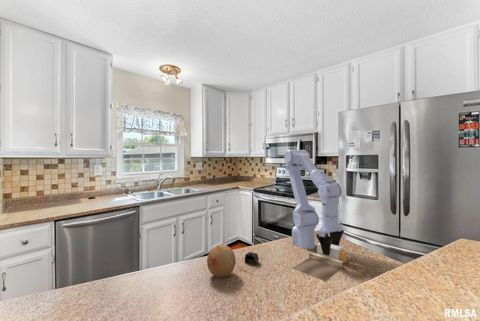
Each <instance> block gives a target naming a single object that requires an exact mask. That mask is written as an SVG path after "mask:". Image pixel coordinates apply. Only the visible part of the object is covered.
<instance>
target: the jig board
mask: <svg viewBox="0 0 480 321" xmlns="http://www.w3.org/2000/svg"><path fill="white" fill-rule="evenodd" d="M352 260H353V258H352V255H351V254H348V253H347V260H346V261H345V262H344V263H343V262H342V261H339V260H335V259H332V258H329V257H326V256H322V255H319V254H317V252H316V253H315V252H312V251H310V252H308V258H307V259H305V260H303V261H301V262H300V263H298V264H296V265H295V266H292V269H294V270H295V271H298V272H301V273H304V274H306V275H308V276H311V277H313V278H316V279H319V280H321V281H324V282H327V281H329V280H330V278H332V277H333V276H334V275H335V274H337V273H338V272H339V271H340V270H341V269H343V268H344V267H345V266H346V265H348V263H350V262H351V261H352Z"/></svg>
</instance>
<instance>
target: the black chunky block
mask: <svg viewBox="0 0 480 321" xmlns="http://www.w3.org/2000/svg"><path fill="white" fill-rule="evenodd" d="M248 261H251V262H253V265H254V266H256V265H257V264H258V263H259V261H260V260H259V255H258V253H255V252H251V251H249V252H247V253H246V254H245V255H244V263H245V264H247V262H248Z"/></svg>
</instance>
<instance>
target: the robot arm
mask: <svg viewBox="0 0 480 321" xmlns="http://www.w3.org/2000/svg"><path fill="white" fill-rule="evenodd" d="M283 160H284V164H285V168H286V170H287V172H288V176H289V180H290V184H291V185H290V186H291V189H292V192H293V196H294V200H295V204H296V206H295V208H294V209H293V210H292V221H293V225H294V226H293V227H292V230H291V245H292V246H296V247H298V248H300V249H305V250H313V249H315V248H316V238H317V240H318V242H319V243H320V245H321V248H322V252H323V254H324V255H328V256H329V254H330V247H331V244H333V245H337V246H340V243H341V239H342V236H344V234H345V233H344V231H345V230H343V228H342V223H341V222H340V221H339V198H340V197H341V196H342V194H343V193H342V187H341V185H340V184H339V182H334V181H333V180H332V179H331V178H329V177H328V175H327V174H326V173H325V171H324V170H323V169H318V168H317V166H316V165H315V164H314V162H313V161H312V160H311V158H310V153H309V151H307V149H287V150H286V151H285V153H284V156H283ZM303 169H305V170H306V171H307V172H308V173H309V179H310V180H311V181H312V183H313V184H314V186H316V188H317V189H318V190H317V193H318V196H319V199H320V200H319V201H320V203H321V227H320V229H318V233H316V230H315V229H316V228H317V226H318V225H319V222H320V217H319V215H318V213H317V212H316V208H315V207H314V206H312V205H311V204H309V200H308V196H307V193H306V189H305V185H304V182H303V178H302V174H301V170H303ZM315 235H316V236H315Z"/></svg>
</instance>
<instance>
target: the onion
mask: <svg viewBox="0 0 480 321" xmlns="http://www.w3.org/2000/svg"><path fill="white" fill-rule="evenodd" d="M236 263H237V260H236V255H235V252H234V251H233V249H232V248H231V247H230V246H228V245H227V244H222V243H220V244H218V245H216V246H214V247H213V248H212V249H211V250H210V251H209V253H208V254H207V258H206V265H207V269H208V271H209V272H210V273H211V275H213V276H214V277H217V278H225V277H227V276H229V275H230V274H231V273H233V271H234V270H235V267H236Z"/></svg>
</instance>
